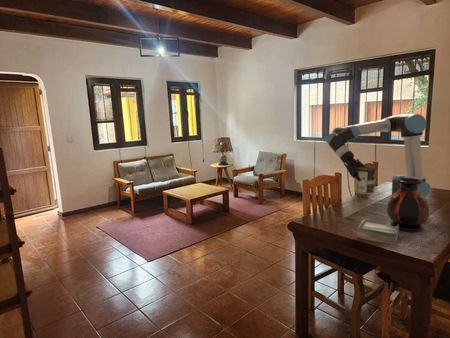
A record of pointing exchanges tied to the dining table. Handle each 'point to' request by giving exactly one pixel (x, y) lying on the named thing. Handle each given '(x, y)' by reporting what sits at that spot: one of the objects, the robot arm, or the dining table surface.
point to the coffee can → (368, 177)
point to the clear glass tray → (378, 232)
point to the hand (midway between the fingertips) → (369, 183)
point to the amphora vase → (408, 206)
